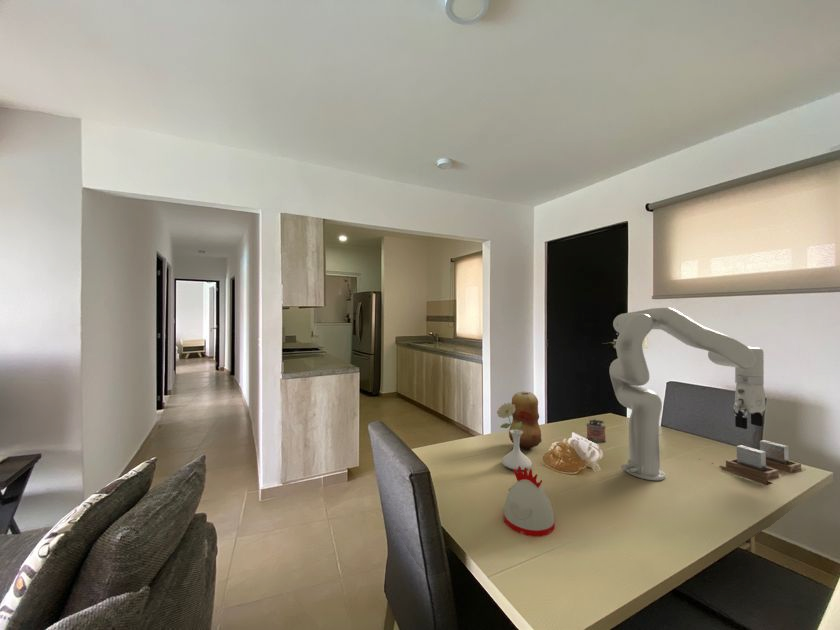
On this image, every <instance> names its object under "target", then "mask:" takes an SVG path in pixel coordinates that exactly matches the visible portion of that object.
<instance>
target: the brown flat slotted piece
mask: <svg viewBox="0 0 840 630" xmlns="http://www.w3.org/2000/svg"><path fill="white" fill-rule="evenodd" d="M720 469H721V471H723V472H727V473H729V474H732V475H735V476H739V477H741V478H744V479H746V480H749V481H753V482H755V483H758V484H761V485H764V486H769V485H772V484H774V482H772V480H776V479H779V478H782V477H785V476H788V475H792V474H796V473H798V472H803V471H806V468H803V467H802V463H799V462H797V461H793V460H789V465H785V464H781V463H778V462H774V461H771V460H768V459H766V472H763V471H760V470H757V469H754V468H750V467H747V466H744V465H741V464H738V463H737V457H733V458H732V459H726V460H725V464H722V465H721V466H720Z"/></svg>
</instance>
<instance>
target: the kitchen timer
mask: <svg viewBox="0 0 840 630" xmlns="http://www.w3.org/2000/svg"><path fill="white" fill-rule="evenodd" d="M528 470H529V471H528ZM513 472H514V473H513V474H514V476H515V478H516V480H517V481H516V482H515V483H514V484H512V485H511V487H510V488H508V493H507V496H506V498H505V499H506V500H505V502H504V506H503V511H502V513H503V520H504V523H505V524H506V526H507V527H508V528H510V529H511V530H513V531H514V532H516V533H518V534H522V535H524V536H527V537H535V538H537V537H545V536H548V535H550V534H552V532H554V530H555V526H556V525H555V523H556V522H555V519H556V518H555V514H554V510H553V506H552V503H551V501H550V499H549V496H548V495H547V492H546V490H545V489H544V488H543V487H542V486H541V484H542V482H543V479H541V480H539V482H537V478H538V474H535V475H534V476H533V469H532V468H529V469H527V468H525V469H524V470H521V467H520V466H519V467H518V470H516V469H514V470H513Z"/></svg>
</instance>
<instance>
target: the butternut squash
mask: <svg viewBox="0 0 840 630" xmlns="http://www.w3.org/2000/svg"><path fill="white" fill-rule="evenodd" d="M511 403H512V404H511V405H513V404H514V406H515V412H514V413H513V414H512V416H511V417H512V421H511V425H512V426H513V428H514V425H515V424H516V423H519V422H521V421H522V424H521V426H520V427H519V428H514V429H516V430H521V431H523V433H522V434H521V436H520V442H519V448H520V450H531V449H533V448H535V447H537V446H539V445H540V444H541V443H542V431H541V428H540V425H539V420H540V419H539V418H540V414H539V407H538V406H539V399H538V398H537V396H536V395H535V394H534V393H533V392H529V391H518V392H515V393H514V394H513V396H512V397H511ZM511 425H510V426H509V430H508V437H509V439H510V441H511V442H512V443H513V437H512V434H511V433H510V430H513V428H512V426H511Z"/></svg>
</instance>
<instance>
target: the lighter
mask: <svg viewBox="0 0 840 630" xmlns="http://www.w3.org/2000/svg"><path fill="white" fill-rule="evenodd" d="M588 420H589V421H588V423H586V439H587V438H588V439H589V440H588V441H590V440H592V441H591V442H597V443H607V440H606V428H607V427H606V425H605V424H604V423H605V421H604V420H602V419H596V418H593V419H591V418H590V419H588Z"/></svg>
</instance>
